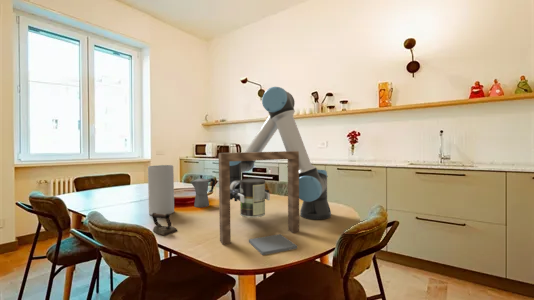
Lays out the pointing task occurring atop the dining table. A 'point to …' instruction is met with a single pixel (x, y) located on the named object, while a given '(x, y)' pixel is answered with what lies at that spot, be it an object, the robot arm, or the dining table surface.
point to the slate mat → (272, 244)
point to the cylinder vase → (161, 189)
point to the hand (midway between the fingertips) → (256, 198)
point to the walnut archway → (252, 156)
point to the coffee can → (252, 198)
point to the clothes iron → (163, 229)
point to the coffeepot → (202, 191)
